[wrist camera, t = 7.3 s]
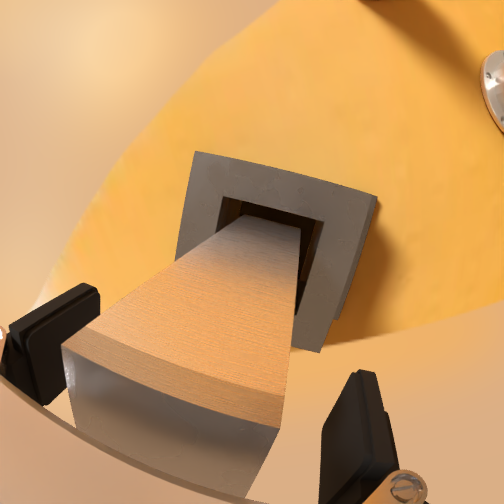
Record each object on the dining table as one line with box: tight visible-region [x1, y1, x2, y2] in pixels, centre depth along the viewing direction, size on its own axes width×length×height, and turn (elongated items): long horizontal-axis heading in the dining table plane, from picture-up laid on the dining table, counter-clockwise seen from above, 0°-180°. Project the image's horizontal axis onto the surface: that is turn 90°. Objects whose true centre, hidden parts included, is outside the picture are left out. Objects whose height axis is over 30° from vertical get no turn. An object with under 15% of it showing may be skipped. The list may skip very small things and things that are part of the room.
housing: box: [175, 151, 377, 353], centre depth 28 cm, size 19×14×10 cm
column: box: [61, 214, 301, 498], centre depth 17 cm, size 5×6×22 cm
